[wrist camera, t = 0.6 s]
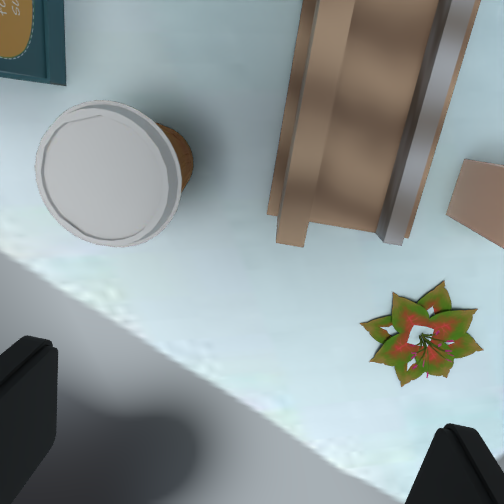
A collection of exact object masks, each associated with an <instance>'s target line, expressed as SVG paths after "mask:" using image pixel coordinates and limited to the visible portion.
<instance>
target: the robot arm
mask: <svg viewBox="0 0 504 504" xmlns="http://www.w3.org/2000/svg"><path fill="white" fill-rule="evenodd" d="M57 373H58V350H57V348H54V347H53V345H52V342H51V341H50V340H46V339H42V338H37V337H32V336H24V337H22V338H20V340H18V341H17V342H16V343H14V344H13V345H12V346H11V347H10V348H8V349H7V350H6V351H5V352H3V353H2V354H1V355H0V504H11V503H12V502H13V500H14V499H15V498H16V496H17V495H18V493H19V492H20V491H21V489H22V488H23V487H24V485H25V484H26V482H27V481H28V480H29V478H30V477H31V475H32V474H33V473H34V471H35V470H36V468H37V467H38V466H39V464H40V463H41V461H42V460H43V458H44V457H45V456H46V454H47V453H48V452H49V450H50V449H51V447H52V445H53V443H54V440H55V436H56V416H57V414H56V413H57V376H58V375H57ZM405 504H504V473H503V471H502V470H501V468H500V466H499V465H498V463H497V461H496V460H495V458H494V457H493V455H492V454H491V452H490V450H489V449H488V447H487V446H486V444H485V442H484V441H483V439H482V438H481V436H480V434H479V433H478V432H477V431H476V430H475V429H473V428H470V427H465V426H460V425H456V424H451V423H449V424H446V425H445V426H444V428H439V429H438V430H437V431H436V433H435V435H434V438H433V440H432V442H431V445H430V447H429V449H428V452H427V454H426V456H425V458H424V461H423V463H422V465H421V468H420V470H419V472H418V475H417V477H416V479H415V481H414V484H413V486H412V488H411V491H410V493H409V495H408V497H407V500H406V502H405Z"/></svg>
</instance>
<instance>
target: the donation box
mask: <svg viewBox="0 0 504 504" xmlns="http://www.w3.org/2000/svg"><path fill="white" fill-rule="evenodd" d="M0 77H3V78H11V79H18V80H25V81H33V82H40V83H47V84H54V85H62V86H66V66H65V34H64V0H0Z"/></svg>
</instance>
